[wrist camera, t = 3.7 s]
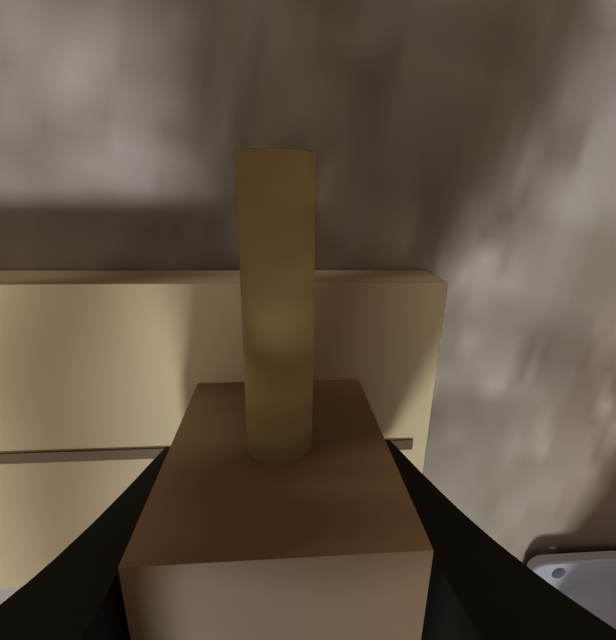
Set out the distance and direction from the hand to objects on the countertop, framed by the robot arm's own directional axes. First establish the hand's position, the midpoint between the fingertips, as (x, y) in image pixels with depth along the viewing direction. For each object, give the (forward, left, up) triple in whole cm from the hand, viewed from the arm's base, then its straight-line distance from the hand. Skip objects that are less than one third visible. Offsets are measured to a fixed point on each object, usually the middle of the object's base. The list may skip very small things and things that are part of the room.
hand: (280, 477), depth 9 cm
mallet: (0, -2, -1) cm, 3 cm away
